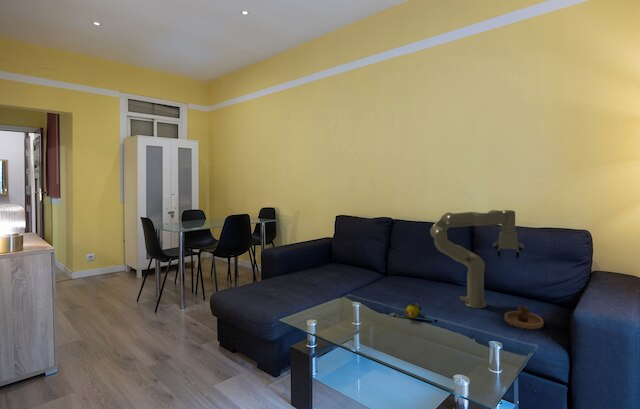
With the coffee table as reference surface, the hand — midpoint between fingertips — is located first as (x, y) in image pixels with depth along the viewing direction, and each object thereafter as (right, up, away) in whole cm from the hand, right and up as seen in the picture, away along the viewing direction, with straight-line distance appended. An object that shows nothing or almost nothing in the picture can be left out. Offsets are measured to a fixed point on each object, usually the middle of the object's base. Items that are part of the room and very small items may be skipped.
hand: (508, 257), depth 213 cm
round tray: (-4, -32, -22) cm, 39 cm away
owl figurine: (-62, -35, -10) cm, 72 cm away
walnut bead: (-4, -32, -22) cm, 39 cm away
